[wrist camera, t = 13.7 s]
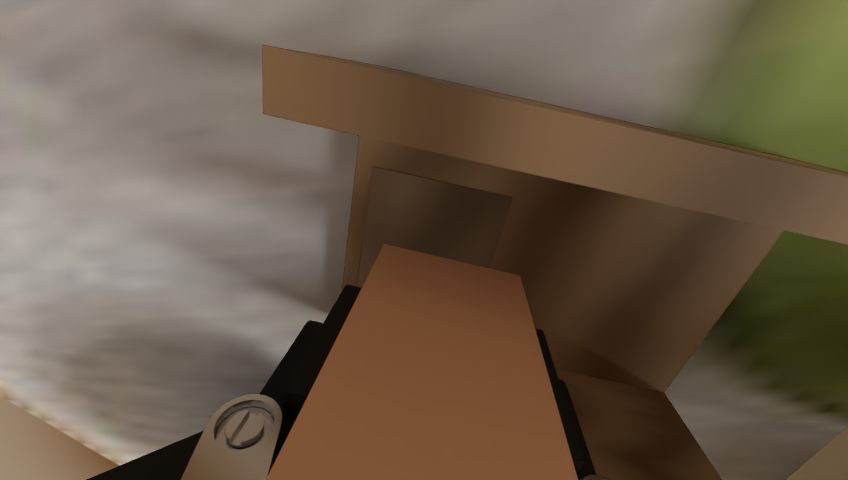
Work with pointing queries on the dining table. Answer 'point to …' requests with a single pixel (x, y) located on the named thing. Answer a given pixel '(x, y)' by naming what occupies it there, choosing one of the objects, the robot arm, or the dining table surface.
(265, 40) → the dining table surface
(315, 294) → the dining table surface
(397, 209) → the box
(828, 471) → the lid
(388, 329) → the block
